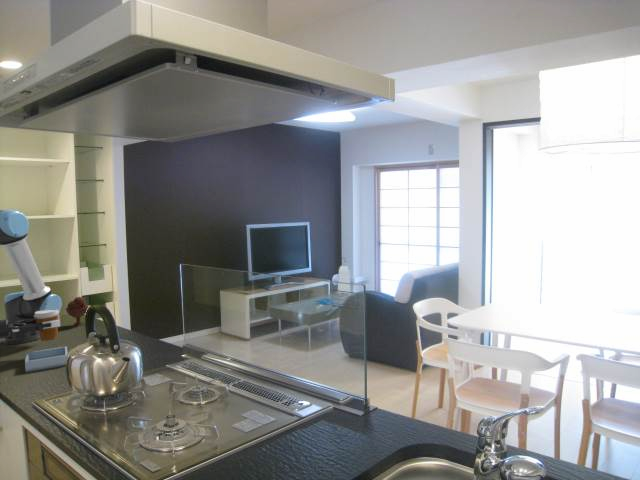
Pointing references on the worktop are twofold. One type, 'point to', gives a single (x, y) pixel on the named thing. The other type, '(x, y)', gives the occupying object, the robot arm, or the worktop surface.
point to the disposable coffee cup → (44, 317)
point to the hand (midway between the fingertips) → (59, 320)
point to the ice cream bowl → (77, 309)
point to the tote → (45, 359)
